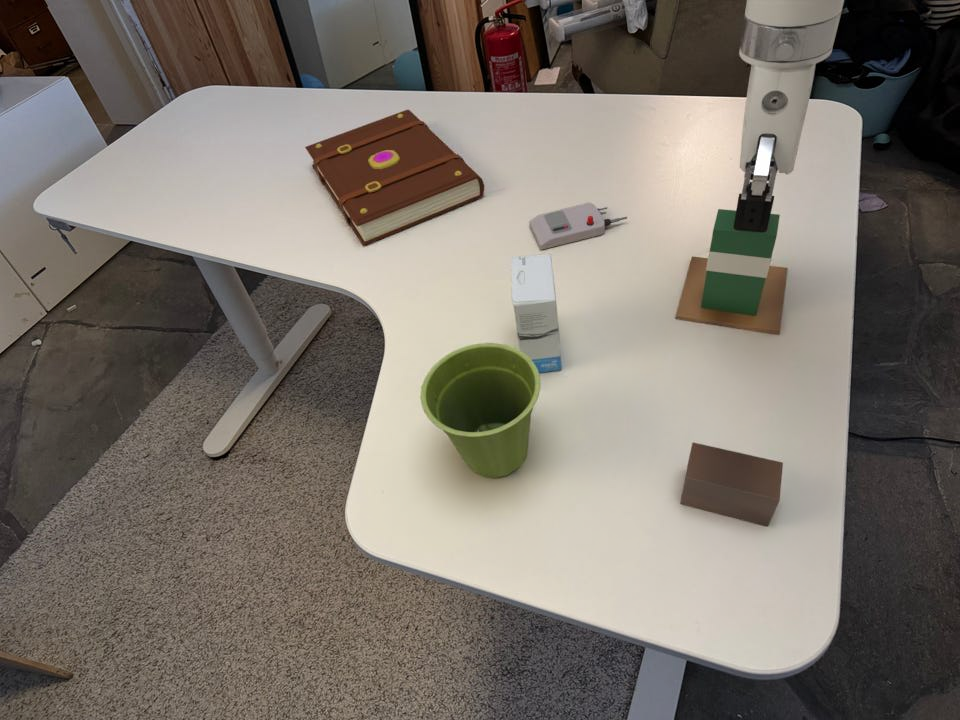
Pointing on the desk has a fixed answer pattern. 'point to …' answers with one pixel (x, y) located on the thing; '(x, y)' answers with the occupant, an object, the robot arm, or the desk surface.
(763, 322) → the coaster
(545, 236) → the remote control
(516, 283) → the ink box
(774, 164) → the robot arm
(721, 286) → the block
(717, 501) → the block
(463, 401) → the plant pot
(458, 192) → the book
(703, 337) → the desk surface
